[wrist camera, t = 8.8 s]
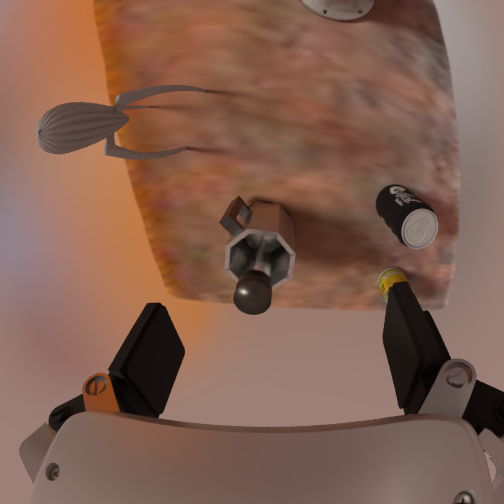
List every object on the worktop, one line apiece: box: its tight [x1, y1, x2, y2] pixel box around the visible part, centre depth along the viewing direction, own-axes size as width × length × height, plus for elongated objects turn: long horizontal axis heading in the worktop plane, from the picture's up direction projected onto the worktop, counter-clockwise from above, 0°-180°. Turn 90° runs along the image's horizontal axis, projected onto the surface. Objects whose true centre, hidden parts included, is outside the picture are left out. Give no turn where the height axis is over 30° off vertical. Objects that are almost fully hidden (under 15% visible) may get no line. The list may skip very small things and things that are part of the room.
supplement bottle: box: [378, 267, 414, 304], centre depth 46 cm, size 5×5×10 cm
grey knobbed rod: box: [234, 234, 281, 315], centre depth 38 cm, size 6×6×18 cm
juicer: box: [36, 85, 206, 160], centre depth 27 cm, size 10×9×30 cm
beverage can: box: [376, 185, 438, 249], centre depth 38 cm, size 7×7×12 cm
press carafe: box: [219, 196, 296, 291], centre depth 43 cm, size 12×9×12 cm
